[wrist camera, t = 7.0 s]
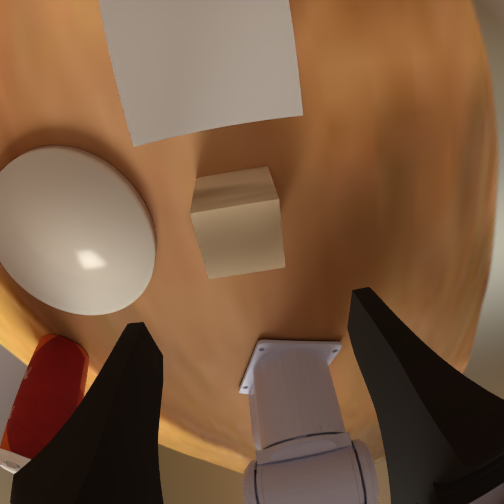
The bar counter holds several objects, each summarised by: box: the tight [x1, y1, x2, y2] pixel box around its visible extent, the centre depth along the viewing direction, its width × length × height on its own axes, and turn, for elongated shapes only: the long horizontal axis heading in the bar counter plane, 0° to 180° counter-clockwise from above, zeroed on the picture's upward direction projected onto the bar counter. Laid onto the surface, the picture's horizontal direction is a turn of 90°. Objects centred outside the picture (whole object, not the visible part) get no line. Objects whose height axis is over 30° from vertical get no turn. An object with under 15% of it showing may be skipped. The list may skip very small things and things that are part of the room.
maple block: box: [190, 166, 285, 279], centre depth 17 cm, size 4×4×4 cm
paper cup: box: [0, 334, 89, 474], centre depth 20 cm, size 8×8×14 cm
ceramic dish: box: [0, 145, 157, 315], centre depth 18 cm, size 13×13×1 cm
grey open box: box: [99, 0, 303, 147], centre depth 10 cm, size 6×6×6 cm
